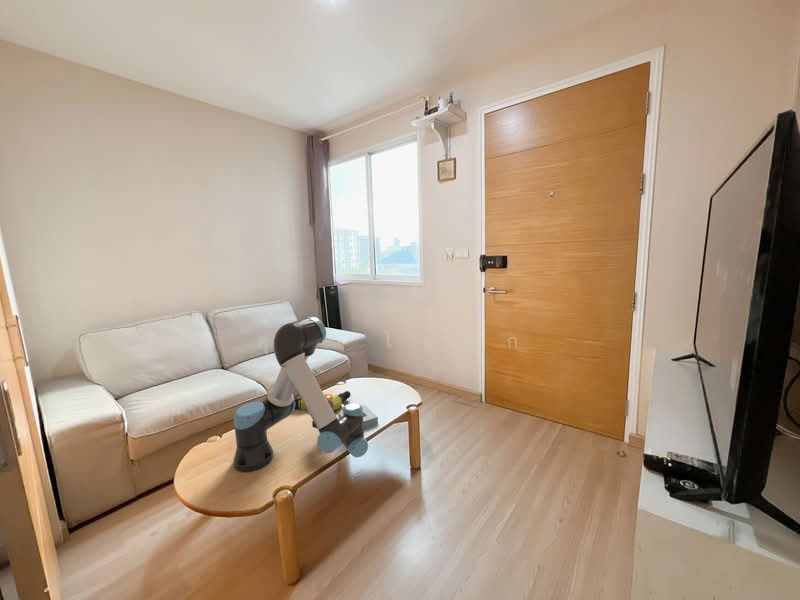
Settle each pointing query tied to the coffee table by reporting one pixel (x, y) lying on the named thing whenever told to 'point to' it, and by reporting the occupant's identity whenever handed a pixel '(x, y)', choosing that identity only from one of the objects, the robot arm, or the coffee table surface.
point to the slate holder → (366, 417)
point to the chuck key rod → (330, 400)
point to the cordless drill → (336, 401)
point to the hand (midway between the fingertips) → (328, 410)
